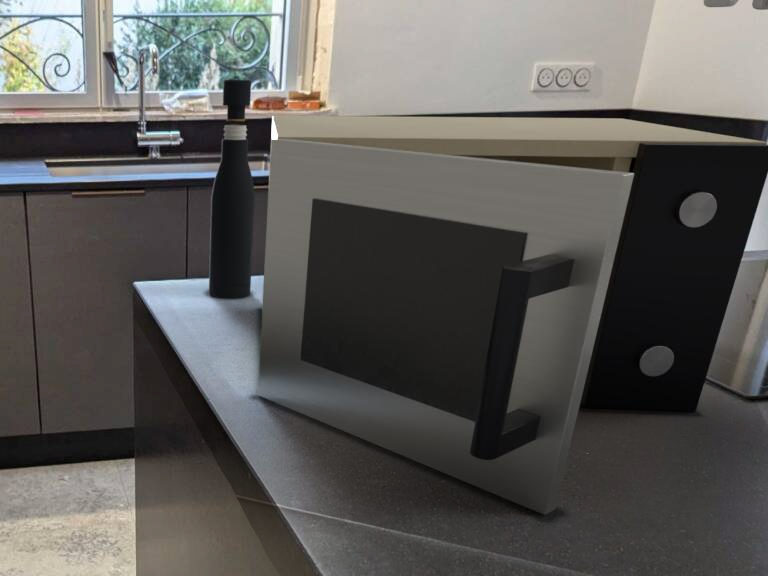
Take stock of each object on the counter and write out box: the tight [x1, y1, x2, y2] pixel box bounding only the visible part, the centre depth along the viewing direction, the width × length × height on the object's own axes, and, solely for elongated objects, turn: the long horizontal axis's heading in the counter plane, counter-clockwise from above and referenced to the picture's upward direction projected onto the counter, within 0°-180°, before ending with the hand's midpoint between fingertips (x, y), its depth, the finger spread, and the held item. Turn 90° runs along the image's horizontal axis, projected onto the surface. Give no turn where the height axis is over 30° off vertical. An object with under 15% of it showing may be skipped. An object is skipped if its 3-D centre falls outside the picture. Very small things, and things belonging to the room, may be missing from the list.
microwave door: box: [257, 139, 634, 516], centre depth 69 cm, size 8×33×26 cm, turn 38°
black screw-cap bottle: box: [208, 79, 256, 299], centre depth 121 cm, size 6×6×30 cm
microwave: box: [261, 115, 768, 413], centre depth 96 cm, size 35×44×26 cm
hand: (744, 8), depth 62 cm, fingers open, 8 cm apart
